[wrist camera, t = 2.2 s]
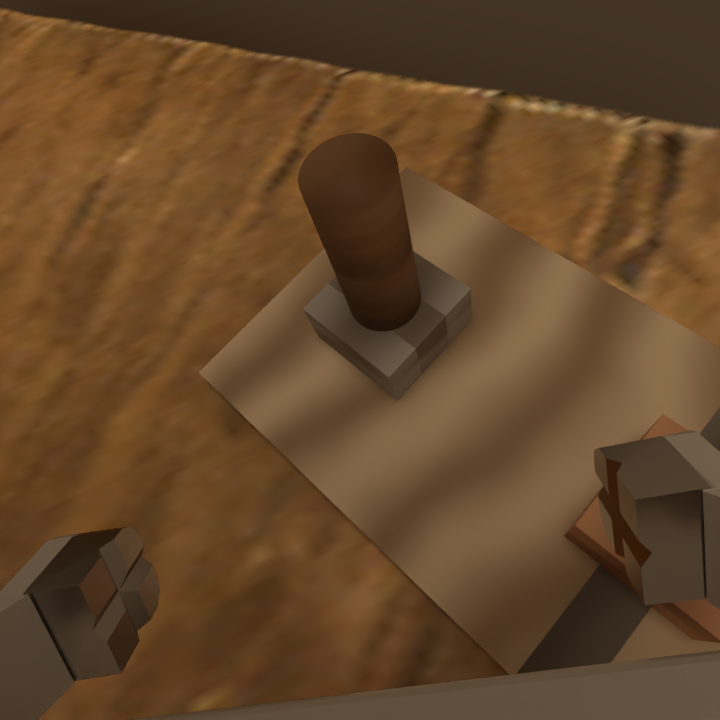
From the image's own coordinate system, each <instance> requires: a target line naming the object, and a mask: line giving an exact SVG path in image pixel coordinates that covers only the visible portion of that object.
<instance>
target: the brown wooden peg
mask: <svg viewBox="0 0 720 720" xmlns="http://www.w3.org/2000/svg"><path fill="white" fill-rule="evenodd" d="M298 183H299V188H300V191H301V194H302V196H303V198H304V201H305V203H306V206H307V208H308V210H309V213H310V215H311V217H312V220H313V222H314V225H315V227H316V229H317V232H318V234H319V237H320V239H321V241H322V244H323V246H324V248H325V251H326V253H327V256H328V258H329V260H330V263H331V265H332V268H333V270H334V272H335V275H336V277H337V279H338V282H339V284H340V287H341V289H342V291H343V294H344V296H345V299H346V301H347V303H348V306H349V308H350V311H351V313H352V315H353V317H354V318H355V320H356V321H357V322H358V323H359V324H360V325H362V326H363V327H365V328H367V329H370V330H374V331H391V330H394V329H397V328H400V327H402V326H403V325H405V324H406V323H408V322H409V321H410V320H411V319H412V318H413V317H414V316H415V314H416V313H417V311H418V309H419V306H420V302H421V293H420V287H419V281H418V276H417V270H416V264H415V259H414V253H413V247H412V242H411V236H410V231H409V225H408V219H407V214H406V208H405V203H404V197H403V191H402V186H401V180H400V174H399V169H398V163H397V158H396V155H395V153H394V151H393V149H392V148H391V147H390V146H389V145H388V144H387V143H386V142H385V141H383V140H382V139H380V138H378V137H375V136H372V135H368V134H361V133H352V134H345V135H340V136H337V137H334V138H332V139H329V140H327V141H325V142H324V143H322V144H321V145H319V146H318V147H316V148H315V149H314V150H313V151H312V152H311V153H310V154H309V155H308V156H307V158H306V159H305V160H304V162H303V164H302V166H301V168H300V172H299V177H298Z"/></svg>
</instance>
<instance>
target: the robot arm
mask: <svg viewBox="0 0 720 720" xmlns="http://www.w3.org/2000/svg"><path fill="white" fill-rule="evenodd" d="M594 466H595V473H596V474H597V476H598V478H599V479H600V481H601V482H602V484H603V486H604V487H603V488H602V490H601V491H600V493H599V495H598V501H599V508H600V514H601V518H602V522H603V526H604V530H605V532H606V535H607V537H608V540H609V542H610V544H611V546H612V548H613V550H614V552H615V553H616V554H618V555H619V556H621V557H623V558H625V565H626V573H627V575H628V577H629V579H630V580H631V582H632V584H633V586H634V587H635V589H636V591H637V593H638V595H639V596H640V598H641V600H642V602H643V603H644V605H652V604H662V603H672V602H681V601H691V600H701V599H707V602H708V603H710V604H712V605H713V606H715V607H716V608H718V609H719V610H720V452H719V451H718V450H717V449H716V448H715V447H714V446H713V445H712V444H710V443H709V442H708V441H707V440H706V439H705V438H704V437H703V436H701V435H700V434H699V433H698V432H696V431H692V430H688V431H683V432H678V433H674V434H669V435H664V436H659V437H653V438H648V439H643V440H638V441H633V442H627V443H622V444H617V445H612V446H607V447H602V448H597V449H594ZM143 548H144V544H143V541H142V539H141V537H140V535H139V533H138V531H137V530H135V529H133V528H131V527H129V526H128V527H121V528H114V529H107V530H101V531H94V532H87V533H81V534H72V535H67V536H62V537H57V538H54V539H50V540H48V541H47V542H46V543H45V544H44V545H43V546H42V547H41V548H40V549H39V550H38V551H37V552H36V554H35V555H34V556H33V557H32V558H31V559H30V560H29V561H28V562H27V563H26V564H25V565H24V566H23V567H22V568H21V570H20V571H19V572H18V573H17V574H16V575H15V576H14V577H13V578H12V579H11V580H10V581H9V582H8V583H7V585H6V586H5V587H4V588H3V589H2V590H1V591H0V720H38V719H39V718H40V717H41V716H42V715H43V714H44V713H45V712H46V711H47V710H48V709H49V708H50V707H51V706H52V705H53V704H54V703H55V702H56V701H57V700H58V699H59V698H60V697H61V696H62V695H63V694H64V693H65V692H66V691H67V690H68V689H69V688H70V687H71V686H72V685H73V684H74V683H75V682H74V681H76V680H82V679H89V678H95V677H101V676H107V675H113V674H119V673H122V671H123V670H124V668H125V666H126V664H127V662H128V660H129V659H130V657H131V655H132V653H133V651H134V649H135V648H136V646H137V644H138V642H139V637H138V634H137V631H138V630H139V629H140V628H141V627H142V626H144V625H145V624H146V623H147V622H148V621H150V620H151V618H152V616H153V614H154V612H155V610H156V608H157V604H158V597H159V583H158V577H157V574H156V572H155V569H154V567H153V565H152V564H150V563H149V562H148V561H146V560H145V559H143V558H142V557H141V554H142V551H143ZM129 720H720V650H716V651H707V652H699V653H690V654H682V655H673V656H665V657H656V658H648V659H639V660H631V661H622V662H614V663H605V664H597V665H588V666H580V667H571V668H563V669H554V670H546V671H538V672H529V673H521V674H512V675H504V676H495V677H487V678H478V679H470V680H461V681H453V682H444V683H436V684H427V685H419V686H410V687H402V688H393V689H385V690H376V691H368V692H359V693H351V694H342V695H334V696H325V697H317V698H308V699H300V700H291V701H282V702H274V703H265V704H257V705H248V706H240V707H231V708H223V709H214V710H206V711H197V712H189V713H180V714H172V715H163V716H155V717H146V718H138V719H129Z"/></svg>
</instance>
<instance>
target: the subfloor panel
mask: <svg viewBox="0 0 720 720" xmlns="http://www.w3.org/2000/svg"><path fill="white" fill-rule="evenodd" d="M400 180H401V186H402V191H403V197H404V203H405V208H406V214H407V219H408V225H409V231H410V236H411V242H412V247H413V253H414V259H415V264H416V270H417V276H418V281H419V287H420V293H421V302H420V306H419V309H418V311H417V313H416V314H415V316H414V317H413V318H412V319H411V320H410V321H409V322H408V323H406V324H405V325H403V326H402V327H400V328H397V329H394V330H391V331H374V330H370V329H367V328H365V327H363V326H362V325H360V324H359V323H358V322H357V321H356V320H355V318H354V317H353V315H352V313H351V311H350V308H349V306H348V303H347V301H346V299H345V296H344V294H343V291H342V289H341V287H340V284H339V282H338V279H337V277H336V275H335V272H334V270H333V268H332V265H331V263H330V260H329V258H328V256H327V253H326V251H325V248H324V249H323V250H322V251H321V252H320V253H319V254H318V255H317V256H316V257H315V258H314V259H313V260H312V261H311V262H310V263H309V264H308V265H307V266H306V267H305V268H304V269H303V270H302V271H301V272H300V273H299V274H298V275H297V276H296V277H295V278H294V279H293V280H292V281H291V282H290V283H289V284H288V285H287V286H286V287H285V288H284V289H283V290H282V291H281V292H280V293H279V294H278V295H276V296H275V297H274V298H273V299H272V300H271V301H270V302H269V303H268V304H267V305H266V306H265V307H264V308H263V309H262V310H261V311H260V312H259V313H258V314H257V315H256V316H255V317H254V318H253V319H252V320H251V321H250V322H249V323H248V324H247V325H246V326H245V327H244V328H243V329H242V330H241V331H240V332H239V333H238V334H237V335H236V336H235V337H234V338H233V339H232V340H231V341H230V342H229V343H228V344H227V345H226V346H225V347H224V348H223V349H222V350H221V351H220V352H219V353H218V354H217V355H216V356H215V357H214V358H213V359H212V360H211V361H210V362H209V363H208V364H207V365H206V366H205V367H204V368H203V369H202V370H201V371H199V373H200V374H201V375H202V376H203V377H204V378H205V379H206V380H207V381H208V382H209V383H210V384H211V385H212V386H213V387H214V388H215V389H216V390H217V391H218V392H219V393H220V394H221V395H222V396H223V397H224V398H225V399H226V400H227V401H228V402H230V403H231V404H232V405H233V406H234V407H235V408H236V409H237V410H238V411H239V412H240V413H241V414H242V415H243V416H244V417H245V418H246V419H247V420H248V421H249V422H250V423H251V424H252V425H253V426H254V427H255V428H256V429H257V430H258V431H259V432H260V433H261V434H262V435H263V436H264V437H265V438H267V439H268V440H269V441H270V442H271V443H272V444H273V445H274V446H275V447H276V448H277V449H278V450H279V451H280V452H281V453H282V454H283V455H284V456H285V457H286V458H287V459H288V460H289V461H290V462H291V463H292V464H293V465H294V466H295V467H296V468H297V469H298V470H299V471H300V472H301V473H303V474H304V475H305V476H306V477H307V478H308V479H309V480H310V481H311V482H312V483H313V484H314V485H315V486H316V487H317V488H318V489H319V490H320V491H321V492H322V493H323V494H324V495H325V496H326V497H327V498H328V499H329V500H330V501H331V502H332V503H333V504H334V505H335V506H336V507H337V508H338V509H340V510H341V511H342V512H343V513H344V514H345V515H346V516H347V517H348V518H349V519H350V520H351V521H352V522H353V523H354V524H355V525H356V526H357V527H358V528H359V529H360V530H361V531H362V532H363V533H364V534H365V535H366V536H367V537H368V538H369V539H370V540H371V541H372V542H373V543H374V544H376V545H377V546H378V547H379V548H380V549H381V550H382V551H383V552H384V553H385V554H386V555H387V556H388V557H389V558H390V559H391V560H392V561H393V562H394V563H395V564H396V565H397V566H398V567H399V568H400V569H401V570H402V571H403V572H404V573H405V574H406V575H407V576H408V577H409V578H410V579H411V580H413V581H414V582H415V583H416V584H417V585H418V586H419V587H420V588H421V589H422V590H423V591H424V592H425V593H426V594H427V595H428V596H429V597H430V598H431V599H432V600H433V601H434V602H435V603H436V604H437V605H438V606H439V607H440V608H441V609H442V610H443V611H444V612H445V613H446V614H447V615H449V616H450V617H451V618H452V619H453V620H454V621H455V622H456V623H457V624H458V625H459V626H460V627H461V628H462V629H463V630H464V631H465V632H466V633H467V634H468V635H469V636H470V637H471V638H472V639H473V640H474V641H475V642H476V643H477V644H478V645H479V646H480V647H481V648H482V649H483V650H484V651H486V652H487V653H488V654H489V655H490V656H491V657H492V658H493V659H494V660H495V661H496V662H497V663H498V664H499V665H500V666H501V667H502V668H503V669H504V670H505V671H506V672H507V673H508V674H509V675H512V674H521V673H529V672H538V671H546V670H554V669H563V668H571V667H580V666H588V665H597V664H605V663H614V662H622V661H631V660H639V659H648V658H656V657H665V656H673V655H682V654H690V653H699V652H707V651H716V650H720V610H719V609H718V608H716V607H715V606H713V605H712V604H710V603H708V602H707V599H701V600H691V601H681V602H672V603H662V604H652V605H644V603H643V602H642V600H641V598H640V596H639V595H638V593H637V591H636V589H635V587H634V586H633V584H632V582H631V580H630V579H629V577H628V575H627V573H626V565H625V558H623V557H621V556H619V555H618V554H616V553H615V552H614V550H613V548H612V546H611V544H610V542H609V540H608V537H607V535H606V532H605V530H604V526H603V522H602V518H601V514H600V508H599V501H598V495H599V493H600V491H601V490H602V488H603V487H604V486H603V484H602V482H601V481H600V479H599V478H598V476H597V474H596V473H595V466H594V449H597V448H602V447H607V446H612V445H617V444H622V443H627V442H633V441H638V440H643V439H648V438H653V437H659V436H664V435H669V434H674V433H678V432H683V431H688V430H692V431H696V432H698V433H699V434H700V435H701V436H703V437H704V438H705V439H706V440H707V441H708V442H709V443H710V444H712V445H713V446H714V447H715V448H716V449H717V450H718V451H719V452H720V347H719V346H717V345H715V344H713V343H712V342H710V341H708V340H706V339H705V338H703V337H701V336H699V335H698V334H696V333H694V332H693V331H691V330H689V329H687V328H686V327H684V326H682V325H680V324H679V323H677V322H675V321H673V320H672V319H670V318H668V317H666V316H665V315H663V314H661V313H659V312H658V311H656V310H654V309H652V308H651V307H649V306H647V305H645V304H644V303H642V302H640V301H639V300H637V299H635V298H633V297H632V296H630V295H628V294H626V293H625V292H623V291H621V290H619V289H618V288H616V287H614V286H612V285H611V284H609V283H607V282H605V281H604V280H602V279H600V278H598V277H597V276H595V275H593V274H592V273H590V272H588V271H586V270H585V269H583V268H581V267H579V266H578V265H576V264H574V263H572V262H571V261H569V260H567V259H565V258H564V257H562V256H560V255H558V254H557V253H555V252H553V251H551V250H550V249H548V248H546V247H544V246H543V245H541V244H539V243H538V242H536V241H534V240H532V239H531V238H529V237H527V236H525V235H524V234H522V233H520V232H518V231H517V230H515V229H513V228H511V227H510V226H508V225H506V224H504V223H503V222H501V221H499V220H497V219H496V218H494V217H492V216H491V215H489V214H487V213H485V212H484V211H482V210H480V209H478V208H477V207H475V206H473V205H471V204H470V203H468V202H466V201H464V200H463V199H461V198H459V197H457V196H456V195H454V194H452V193H450V192H449V191H447V190H445V189H444V188H442V187H440V186H438V185H437V184H435V183H433V182H431V181H430V180H428V179H426V178H424V177H423V176H421V175H419V174H417V173H416V172H414V171H412V170H410V169H409V168H407V167H406V168H405V169H404V170H403V171H402V172H401V173H400Z"/></svg>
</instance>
